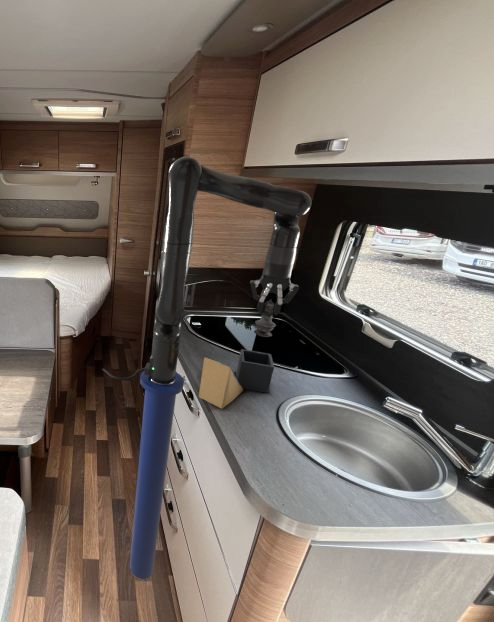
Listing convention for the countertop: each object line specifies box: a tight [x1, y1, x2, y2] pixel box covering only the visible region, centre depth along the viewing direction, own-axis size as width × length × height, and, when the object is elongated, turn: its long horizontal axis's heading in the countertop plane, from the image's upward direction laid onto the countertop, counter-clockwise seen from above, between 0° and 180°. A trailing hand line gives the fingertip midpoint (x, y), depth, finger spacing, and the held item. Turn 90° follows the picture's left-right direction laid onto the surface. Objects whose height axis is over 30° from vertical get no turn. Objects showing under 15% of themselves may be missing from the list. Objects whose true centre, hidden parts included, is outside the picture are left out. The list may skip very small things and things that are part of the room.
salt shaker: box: [253, 298, 276, 338], centre depth 108 cm, size 6×6×12 cm
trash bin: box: [235, 348, 275, 394], centre depth 117 cm, size 10×10×10 cm
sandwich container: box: [198, 357, 244, 410], centre depth 110 cm, size 9×15×15 cm, turn 131°
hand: (267, 313), depth 107 cm, fingers closed on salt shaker, 3 cm apart
